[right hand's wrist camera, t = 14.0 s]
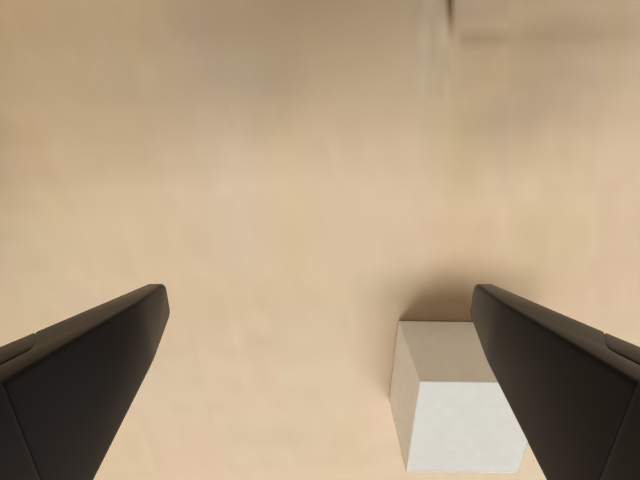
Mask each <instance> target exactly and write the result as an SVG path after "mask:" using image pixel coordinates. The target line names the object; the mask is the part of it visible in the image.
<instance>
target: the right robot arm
mask: <svg viewBox="0 0 640 480" xmlns="http://www.w3.org/2000/svg"><path fill="white" fill-rule="evenodd" d="M169 312H170V310H169V303H168V298H167V292H166V288H165V286H164V285H163V284H149V285H146V286H144V287H141V288H139V289H137V290H134V291H132V292H130V293H127V294H125V295H123V296H120V297H118V298H116V299H113V300H111V301H108V302H106V303H104V304H101V305H99V306H97V307H94V308H92V309H90V310H87V311H85V312H83V313H80V314H78V315H75V316H73V317H71V318H68V319H66V320H64V321H61V322H59V323H57V324H54V325H52V326H50V327H47V328H45V329H43V330H40V331H38V332H36V334H35V333H33V334H31V335H28V336H26V337H24V338H21V339H19V340H16V341H14V342H12V343H9V344H7V345H4V346H2V347H0V480H93V479H94V477H95V475H96V473H97V471H98V469H99V467H100V465H101V463H102V461H103V459H104V457H105V455H106V453H107V451H108V449H109V447H110V445H111V443H112V441H113V439H114V437H115V435H116V433H117V431H118V429H119V427H120V425H121V423H122V421H123V419H124V417H125V415H126V413H127V411H128V409H129V407H130V405H131V403H132V401H133V399H134V397H135V395H136V393H137V391H138V390H139V388H140V386H141V384H142V382H143V380H144V378H145V376H146V374H147V372H148V370H149V368H150V366H151V363H152V361H153V359H154V356H155V354H156V351H157V348H158V346H159V343H160V340H161V337H162V335H163V332H164V329H165V326H166V323H167V321H168V318H169ZM470 312H471V318H472V321H473V323H474V326H475V329H476V332H477V335H478V337H479V340H480V343H481V346H482V348H483V351H484V354H485V356H486V359H487V361H488V363H489V366H490V368H491V370H492V372H493V374H494V376H495V378H496V380H497V382H498V384H499V386H500V388H501V389H502V391H503V393H504V395H505V397H506V399H507V401H508V403H509V405H510V407H511V409H512V411H513V413H514V415H515V417H516V419H517V421H518V423H519V425H520V427H521V429H522V431H523V433H524V435H525V437H526V439H527V441H528V443H529V445H530V447H531V449H532V451H533V453H534V455H535V457H536V459H537V461H538V463H539V465H540V467H541V469H542V471H543V473H544V475H545V477H546V479H547V480H640V347H638V346H636V345H633V344H631V343H628V342H626V341H624V340H621V339H619V338H616V337H614V336H612V335H609V334H607V333H605V334H604V332H602V331H600V330H597V329H595V328H593V327H590V326H588V325H586V324H583V323H581V322H579V321H576V320H574V319H572V318H569V317H567V316H565V315H562V314H560V313H557V312H555V311H553V310H550V309H548V308H546V307H543V306H541V305H539V304H536V303H534V302H532V301H529V300H527V299H525V298H522V297H520V296H517V295H515V294H513V293H510V292H508V291H506V290H503V289H501V288H499V287H496V286H494V285H491V284H477V285H476V286H475V288H474V292H473V298H472V303H471V311H470Z"/></svg>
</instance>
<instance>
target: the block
mask: <svg viewBox="0 0 640 480" xmlns="http://www.w3.org/2000/svg"><path fill="white" fill-rule="evenodd" d="M389 402H390V406H391V411H392V415H393V419H394V423H395V427H396V432H397V436H398V440H399V444H400V448H401V453H402V457H403V461H404V465H405V469H406V472H500V473H518V472H519V469H520V466H521V462H522V459H523V456H524V453H525V449H526V446H527V443H528V441H527V439H526V437H525V435H524V433H523V431H522V429H521V427H520V425H519V423H518V421H517V419H516V417H515V415H514V413H513V411H512V409H511V407H510V405H509V403H508V401H507V399H506V397H505V395H504V393H503V391H502V389H501V388H500V386H499V384H498V382H497V380H496V378H495V376H494V374H493V372H492V370H491V368H490V366H489V363H488V361H487V359H486V356H485V354H484V351H483V348H482V346H481V343H480V340H479V337H478V335H477V332H476V329H475V326H474V323H473V322H434V321H399V322H398V329H397V338H396V346H395V354H394V363H393V371H392V379H391V388H390V396H389Z"/></svg>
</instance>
